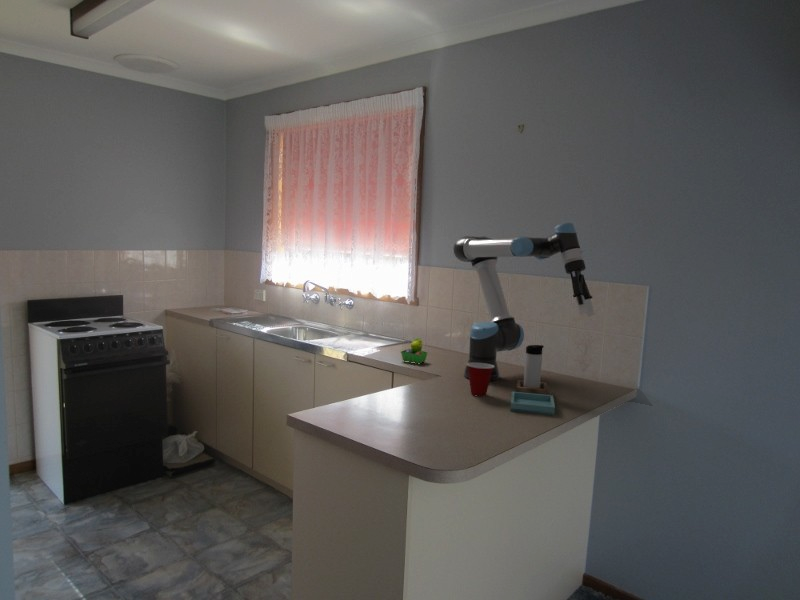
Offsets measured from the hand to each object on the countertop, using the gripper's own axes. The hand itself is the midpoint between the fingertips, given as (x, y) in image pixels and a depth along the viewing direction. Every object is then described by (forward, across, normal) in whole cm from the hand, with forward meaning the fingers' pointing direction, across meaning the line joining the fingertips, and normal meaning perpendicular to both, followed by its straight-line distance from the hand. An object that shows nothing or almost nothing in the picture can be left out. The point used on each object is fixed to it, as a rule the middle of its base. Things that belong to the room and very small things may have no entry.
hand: (587, 314), depth 216 cm
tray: (+29, -19, +24) cm, 43 cm away
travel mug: (+26, -4, +28) cm, 38 cm away
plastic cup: (+21, -15, +45) cm, 52 cm away
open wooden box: (+25, -4, +28) cm, 38 cm away
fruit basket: (0, +16, +86) cm, 87 cm away
